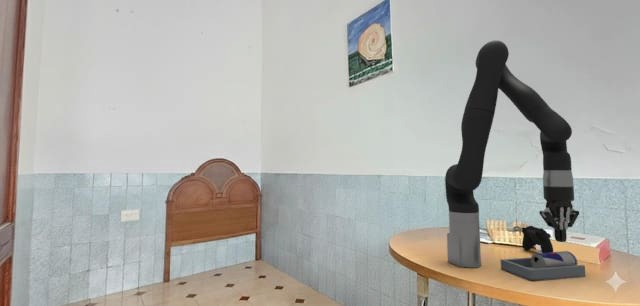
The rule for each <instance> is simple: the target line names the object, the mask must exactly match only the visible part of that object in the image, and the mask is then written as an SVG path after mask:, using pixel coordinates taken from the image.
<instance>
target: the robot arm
mask: <svg viewBox="0 0 640 306" xmlns="http://www.w3.org/2000/svg"><path fill="white" fill-rule="evenodd" d="M509 54H510V53H509V48H508V46H507V45H506V44H505V43H504V42H503V41H501V40H496V39H495V40H491V41H488V42H486V43H485V44H484V45H482V46H481V48H480V49H479V51H478V52H477V55H476V59H475V67H476V75H475V79H474V82H473V85H472V87H471V90H470V92H469V95H468V98H467V101H466V104H465V107H464V110H463V114H462V119H461V127H460V128H461V131H460V132H461V139H462V143H461V144H462V146H461V152H460V156H459V160H458V162H457V164H456V163H455V164H453V165H450V166H449V168H448V169H447V170H446V172H445V176H444V177H445V179H444V182H445V198H446V203H447V205H448V227H449V229H448V230H449V233H447V234H446V243H447V244H446V246H447V247H446V251H447V263H449V264H452V265H454V266H456V267H458V268H460V267H461V268H479V267H481V266H482V255H481V254H482V252H481V235H480V234H481V229H480V227H481V226H480V208H479V203H478V202H477V201H476V199H475V197H474V196H475V195H474V191H476V189H478V188H479V186H480V184H481V183H482V179H483V173H484V163H485V155H486V149H487V146H488V142H489V138H490V135H491V134H490V133H491V129H492V127H493V122H494V117H495V113H496V107H497V102H498V95H499V90H500V91H501V92H502V93H503V94H504V95H505V96H506V97H507V99H509V100H510V101H511V103H512V104H513V105H514V106H515V107H516V108H517V110H518V111H519V112H520V113H521V114H522V115H523V117H524V118H525V119H526V120H527V121H528V122H530V123H533V124H534V125H535V127H537V128H538V130H539V131H540V132H539V140H540V141H539V142H540V147H541V152H542V167H543V170H542V171H543V175H542V187H543V191H542V192H543V199H544V200H545V201H546V204H545V209H543V210H540V211H539V212H538V213H539V215H540V216H541V218H542V219H543V221H544V222H545V223H546V225H547V226H548V227H551V228H552V229H553V230H554V231H553V232H554V233H553V234H554V239H555V241H556V242H558V243H566V242H567V237H568V236H567V230H568V229H569V228H573V225H574V224H575V222H576V221H577V219H578V217H579V215H580V211H579V210H576V209H574V208H573V207H574V206H573V204H572V202H573V201H574V200H575V190H574V189H575V188H574V187H575V186H574V176H573V171H572V157H571V154H570V153H569V151H568V146H567V141H568V140H569V139H570V138H571V137H572V133H573V129H572V127H571V125H570V124H569V122H567V120H566V119H565V118H564V117H563V116H561V115H560V114H559V113H558V112H557V111H555V110H553V109H552V108H551V107H550V106H549V105H548V103H547V102H546V101H545V100H544V99H543V98H542V97H541V96H540V94H539V93H538V92H537V91H536V90H535V89H534V88H533V87H531V86H529V85H527V84H526V83H524V82H523V81H522V80H520V79H519V78H517V77H516V76H515V75H514V74H513V73H512V71H511V70H510V69H509V67H508V66H507V62H508V58H509Z"/></svg>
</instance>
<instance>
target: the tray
mask: <svg viewBox="0 0 640 306" xmlns="http://www.w3.org/2000/svg"><path fill="white" fill-rule="evenodd" d="M531 257H532V256H531ZM531 257H529V256H528V257H518V258H515V257H514V258H504V259H502V258H501V259H500V269H501V270H502V271H505V272H507V273H510V274H512V275H514V276H517V277H520V278H522V279H525V280H528V281H530V282H540V281H549V280H561V279H573V278H574V277H575V278H584V277H585V278H586V277H587V276H586V266H585V265H583V264H577V265H575V266H562V267H549V268H537V269H534V268H533V266H532V264H531Z"/></svg>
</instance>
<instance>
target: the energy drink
mask: <svg viewBox="0 0 640 306" xmlns="http://www.w3.org/2000/svg"><path fill="white" fill-rule="evenodd" d="M531 264H532V266H533V268H534V269H537V268H549V267H562V266H575V265H579V264H578V259H577V257H576V255H575V254H574V253H572V252H570V251H568V250H563V251H553V252H549V253H542V252H540V253H535V254H533V255H532V256H531Z"/></svg>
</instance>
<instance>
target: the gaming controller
mask: <svg viewBox="0 0 640 306" xmlns="http://www.w3.org/2000/svg"><path fill="white" fill-rule="evenodd" d="M521 233H522V234H523V238H522V241H521V242H522V243H521V244H522V245H521V246H522V249H523V250H525V252H526V251H530V250H531V249H533V248H534V247H535V246H536V245H537V246H540V251H541V253H549V252H554V247H553V243H552V241H551V239H550V238H551V237H552V236H551V233H549V232H547V231H546V230H545V229H544V228H542V227H541V228H539V227H536V226H534V225H527V226H526V227H523V226H522V227H521Z"/></svg>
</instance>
